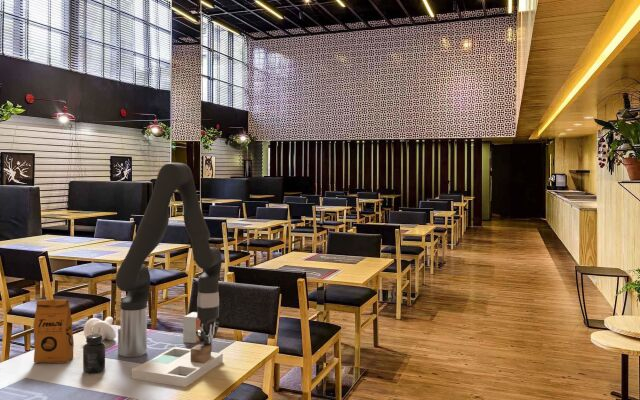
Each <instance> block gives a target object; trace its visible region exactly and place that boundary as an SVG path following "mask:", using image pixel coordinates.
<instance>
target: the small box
mask: <svg viewBox="0 0 640 400" xmlns="http://www.w3.org/2000/svg"><path fill="white" fill-rule="evenodd" d="M182 319H183V320H182V321H183V322H182V323H183V326H182V327H183V328H182V343H188V344H189V343H190V344H197V343H199V342H200V340H199V338H198V337H197V335H196V331H197V330H198V331H199V329H200V321H201V320H200V319H199V318H198V317H197V311H192V312H190V313H188V314H186V315H184V316H183V318H182Z"/></svg>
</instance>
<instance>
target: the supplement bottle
mask: <svg viewBox="0 0 640 400" xmlns="http://www.w3.org/2000/svg"><path fill="white" fill-rule="evenodd" d="M85 339H86V341H85V342H86V344H84V345H83V348H82V371H83V374H86V375H96V374H100V373H102V372H104V371H105V369H106V344H105V343H104V342H102V341H103V340H102V335H101V334H92V335H88V336H87V337H86V338H85Z"/></svg>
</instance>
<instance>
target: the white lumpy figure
mask: <svg viewBox="0 0 640 400" xmlns="http://www.w3.org/2000/svg"><path fill="white" fill-rule="evenodd" d="M113 321H114V319H113V317H112V316H107V317H105V319H104V320H101V319H99V318H97V317H92V318H89V319H88V320H87V321H86V322H85V323H84V326H83V335H84V338H85V339H86V337H87V336H88V335H92V334H101V335H102V341H104V340H105V339H106V340H107V341H114V340H115V339H116V336H117V334H116V331H115V329H114V327H113V326H112V324H113Z"/></svg>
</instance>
